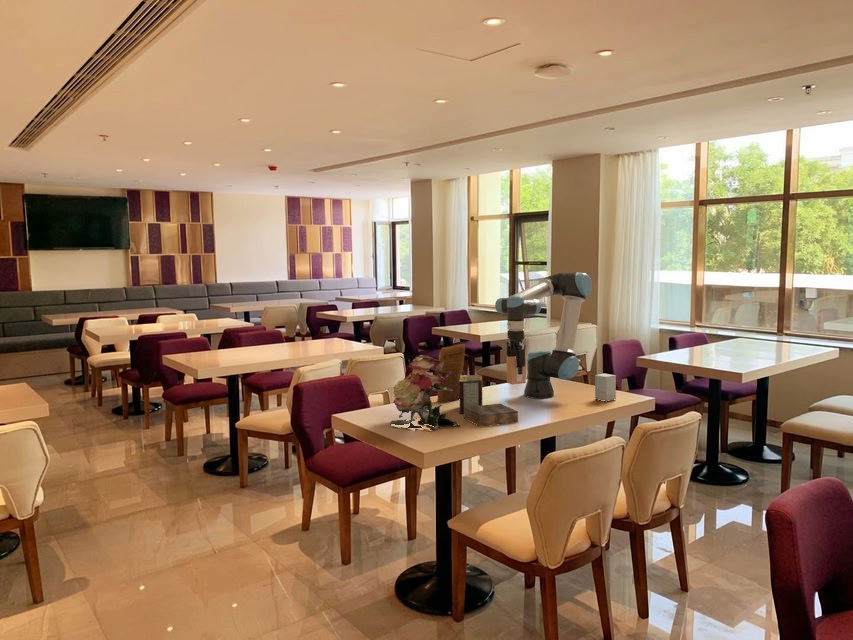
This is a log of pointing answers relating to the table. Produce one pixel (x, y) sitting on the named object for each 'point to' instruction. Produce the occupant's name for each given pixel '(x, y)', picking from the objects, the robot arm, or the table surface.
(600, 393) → the supplement box
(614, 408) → the table surface
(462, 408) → the protein box
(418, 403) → the rose bouquet
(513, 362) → the carton
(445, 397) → the pancake mix bag
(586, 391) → the table surface
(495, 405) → the display podium
